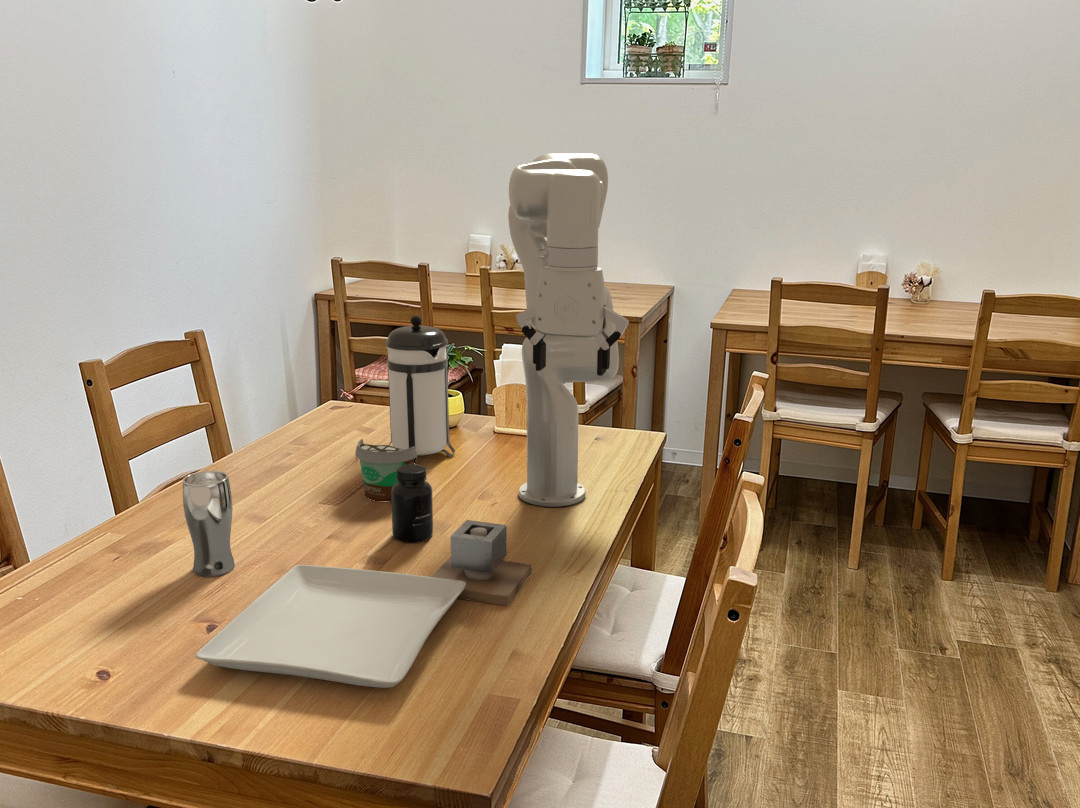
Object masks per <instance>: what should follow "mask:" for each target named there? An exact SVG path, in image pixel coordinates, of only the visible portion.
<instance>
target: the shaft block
mask: <svg viewBox="0 0 1080 808" xmlns="http://www.w3.org/2000/svg"><path fill="white" fill-rule="evenodd" d="M471 535H477V536H484V537H486V536H487V530H486V529H485V528H480V527H479V528H473V529H471ZM532 565H533V564H532V563H526V562H525V563H524V562H517V561H510V560H505V559H503V561H502V562H501V563H500V564H499V566H498V567H497V568H496V569H495V571H494V572H493V573H485V572H478V571H472V570H465V569H458V568H451V555H450V556H449V557H448V558H447V560H445V562H444V563H443V564H442V565H441V566H440V567H438V569H437V570H436V571H435V572H434V573H433V574H432V575H431V576H430V577H435V578H444V579H453V580H461V581H465V582H466V586H465V588H464V590H463V591H462V592H461V594H460V595H459V596H458V597H457V599H459V598H460V599H461V600H466V599H467V601H472V600H473V601H474V602H479V603H484V604H485V603H486V604H492V605H499V606H506V607H509V606H510V604H511V603H512V601H513V600H514V598H515V597H516V596H517V595H518V593H519V592H520V590H521V589H522V588H523V586H524V585H525V584H526V582H527V581H528V579H529V578H530V577H529V576H532V574H533V573H532V572H533V566H532Z"/></svg>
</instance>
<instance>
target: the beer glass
mask: <svg viewBox="0 0 1080 808" xmlns="http://www.w3.org/2000/svg"><path fill="white" fill-rule="evenodd" d="M231 491H232V490H231V485H230V479H229V474H228V473H227V472H225V471H222V470H201V471H198V472H197V471H196V472H194V473H189V474H188V475H186V476H184V477H183V478H182V503H183V504H182V505H183V511H184V518H185V522H186V525H187V528H188V531H189V535H190V538H191V542H192V545H193V552H194V553H193V554H194V555H193V556H194V557H193V570H192V571H193V573H194V574H195V575H196V576H198V577H203V578H212V577H213V578H215V577H221V576H223V575H226V574H228V573H229V572H232V571H233V570H234V569H235V565H236V564H235V560H234V557H233V553H232V549H231V531H232V523H233V522H232V521H233V497H232V492H231Z"/></svg>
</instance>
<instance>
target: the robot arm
mask: <svg viewBox="0 0 1080 808" xmlns="http://www.w3.org/2000/svg"><path fill="white" fill-rule="evenodd" d="M608 173H609V172H608V168H607V165H606V163H605V161H604V160H603V159H602V158H601V156H599V155H597V154H595V153H555V152H553V153H544V154H541V155H539V156H537V157H536V158H534V159H533V160H532V161H531V163H528V164H521V165H518V166H516V167H514V169H513V170H512V172H511V175H510V178H509V183H508V200H509V203H510V204H509V207H508V215H507V216H508V229H509V233H510V238H511V242H512V245H513V247H514V250H515V253H516V255H517V257H518V259H519V262H520V263H521V266H522V269H523V275H524V277H523V278H524V290H525V292H524V293H525V304H526V309H525V310H524V311H521V312H519V313H517V314H516V316H515V319H516V321H517V324H518V326H519V327H520V328H521V329H520V330H521V333H522V334H523V335H524V336H525V339H524V340H523V343H522V345H521V361H522V367H523V374H524V380H525V394H526V396H525V397H526V482H524V483H523V484H522V485H520V486H519V488H518V496H519V498H520V499H521V500H522V501H525V502H526V503H527V504H530V505H535V506H540V507H547V508H548V507H550V508H551V507H552V508H554V507H557V508H558V507H565V506H572V505H574V504H577V503H579V502H581V501H583V500H584V499H585V497H586V487H584V486H583V484H581V483H579V482H578V475H579V474H578V467H579V465H578V463H579V405H578V402H577V399H576V397H575V396H574V395H573V394H572V393H571V391H570V390H569V389H568V388H567V386H565V384H568V383H569V384H570V383H586V382H587V383H588V382H591V383H593V382H606V381H609V380H611V379H613V378H614V377H615V376H616V375H617V373H618V370H619V366H620V365H619V364H620V354H619V353H620V352H619V344H618V341H619V340H620V339H621V337H622V336H623V334H624V332H625V330H626V329H627V328H628V325H629V323H630V321H629V319H627V317H624V316H623V315H621V314H619V313H618V312H616V311H614V306H613V301H612V296H611V293H610V290H609V288H608V287H607V285H605V281H604V280H605V279H604V273H603V269H602V267H599V266H598V265H599V262H598V261H599V260H598V259H599V257H598V256H599V228H600V226H601V221H602V217H603V211H604V207H605V204H606V199H607V193H608V187H609V175H608Z"/></svg>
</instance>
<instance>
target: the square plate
mask: <svg viewBox="0 0 1080 808" xmlns="http://www.w3.org/2000/svg"><path fill="white" fill-rule="evenodd" d="M465 586H466V582H465V581H461V580H453V579H444V578H435V577H431V576H427V575H419V574H411V573H402V572H391V571H381V570H372V569H371V570H370V569H361V568H359V569H358V568H351V567H350V568H347V567H337V566H325V565H312V564H311V565H310V564H296V565H294V566H293V567H292V568H291V569H289V570H288V571H287V572H286V573H285V574H283V575H282V576H281V577H280V578H279V579H278V580H276V582H274V583H273V584H271V585H270V586H269V587H268V588H267V589H266V590H265V591H264V592H262V593H261V594H260V595H259V596H258V597H257V598H256V599H255V600H253V601H252V602H251V603H250V604H249V605H248V606H247V607H245V608H244V609H243V610H242V611H241V612H240V613H239V614H238V615H236V616H235V617H234V618H233V619H232V620H230V622H229V623H227V624H226V625H225V626H224V627H222V629H221V630H220V631H219V632H217V633H216V634H215V635H214V636H213V637H212V638H210V640H209V641H207V642H206V643H205V644H204V645H203V646H202V647H201V648H199V650H198V651H197V652H196V653H195V659H197V660H200V661H204V662H206V663H207V664H210V665H214V666H218V667H221V668H227V669H233V670H242V671H249V672H257V673H258V672H260V673H268V674H269V673H270V674H277V675H278V674H280V675H286V676H288V675H289V676H296V677H304V678H311V679H316V680H324V681H330V682H337V683H343V684H349V685H353V686H363V687H372V688H386V689H387V688H388V689H391V688H393V687H395V686H397V685H398V684H399V683H401V682H402V680H403V679H404V678H405V677H406V676H407V674H408V672H409V671H410V669H411V667H412V666H413V664H414V662H415V661H416V658H417V657H418V655H419V653H420V651H421V650H422V648H423V646H424V644H425V643H426V641H427V639H428V637H430V635H431V633H432V631H433V630H434V629H435V627H436V626H437V624H438V623H439V622H440V620H441V619H442V618H443V617H444V615H445V614H447V612H448V611H449V609H450V608H451V607H452V605H454V603H455V601H456V600H457V599H458V598H457V597H458V596H459V595H460V594H461V592H462V591H463V590H464V588H465Z"/></svg>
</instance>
